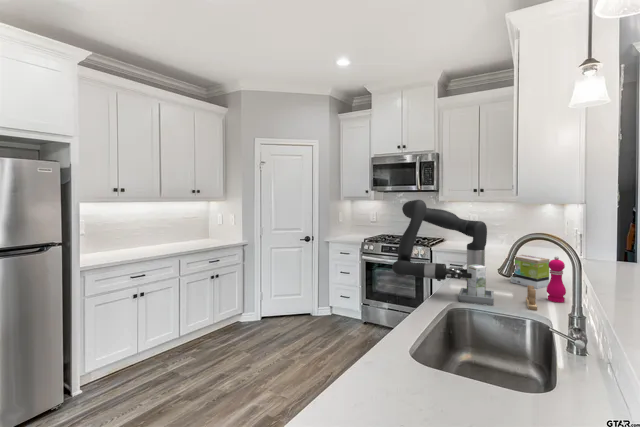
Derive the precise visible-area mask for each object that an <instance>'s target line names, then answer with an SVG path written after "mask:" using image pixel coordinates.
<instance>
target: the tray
mask: <svg viewBox="0 0 640 427" xmlns="http://www.w3.org/2000/svg"><path fill="white" fill-rule="evenodd" d="M494 292H495V291H494V290H491V289H490V290H489V289H488V290H487V289H486V296H485V297H478V296H468V295H467V287H460V289H459V293H458V302H459V303H465V302H466V303H467V304H474V303H476V304H477V305H483V304H487V306H492V305H494V302H495V301H494V299H495V298H494V295H495V294H494ZM476 304H475V305H476ZM494 306H495V305H494Z"/></svg>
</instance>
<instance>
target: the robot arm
mask: <svg viewBox="0 0 640 427" xmlns="http://www.w3.org/2000/svg"><path fill="white" fill-rule="evenodd" d="M401 208H402V213H403V215H404V216H405V217H407V218H408V219H410V221H409V224H408V225H407V228H406V230H404V232H403V234H402V235H401V238H400V241H399V245H398V247H397V260H396V261H394V262H393V263H392V265H391V269H392V271H393V272H394V274H395V275H397V276H399V277H404V276H413V277H416V278H424V279H430V280H432V279H433V280H443V281H445V280H446V278H447V279H456V280H461V279H467V278H472V274H471V273H467V268H466V269H465V268H463V267H457V266H456V267H455V266H449V268H447V264H446V263H437V262H413V261H411V260H412V259H411V258H412V254H413V250H414V246H415V242H416V238H417V236H418V233H419V230H420V227H421V225H422V223H423V222H426V223H428V224H430V225H434V226H437V227H440V228H442V229H444V230H445V229H446V230H449V231H456V232H458V233H461V234H463V235H465V236H467V237H469V238H470V237H471V238H472V241H471V242H469V243H467V244H466V267H467V266H468V265H482V266H485V265H486V263H485V262H486V258H485V257H486V256H485V254H486V250H485V248H486V245H487V239H488V238H487V237H488V236H487V235H488V226H487V223H485V222H484V221H481V220H471V219H470V220H468V219H464V218H460V217H459V216H457V214H455V213H453V212H451V211H448V210H444V209H441V208H429V207H427V204H426V202H425V201H424V200H423V199H414V200H408V201H406V202H405V203H404V204H403V205H402V207H401ZM485 267H486V266H485Z"/></svg>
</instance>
